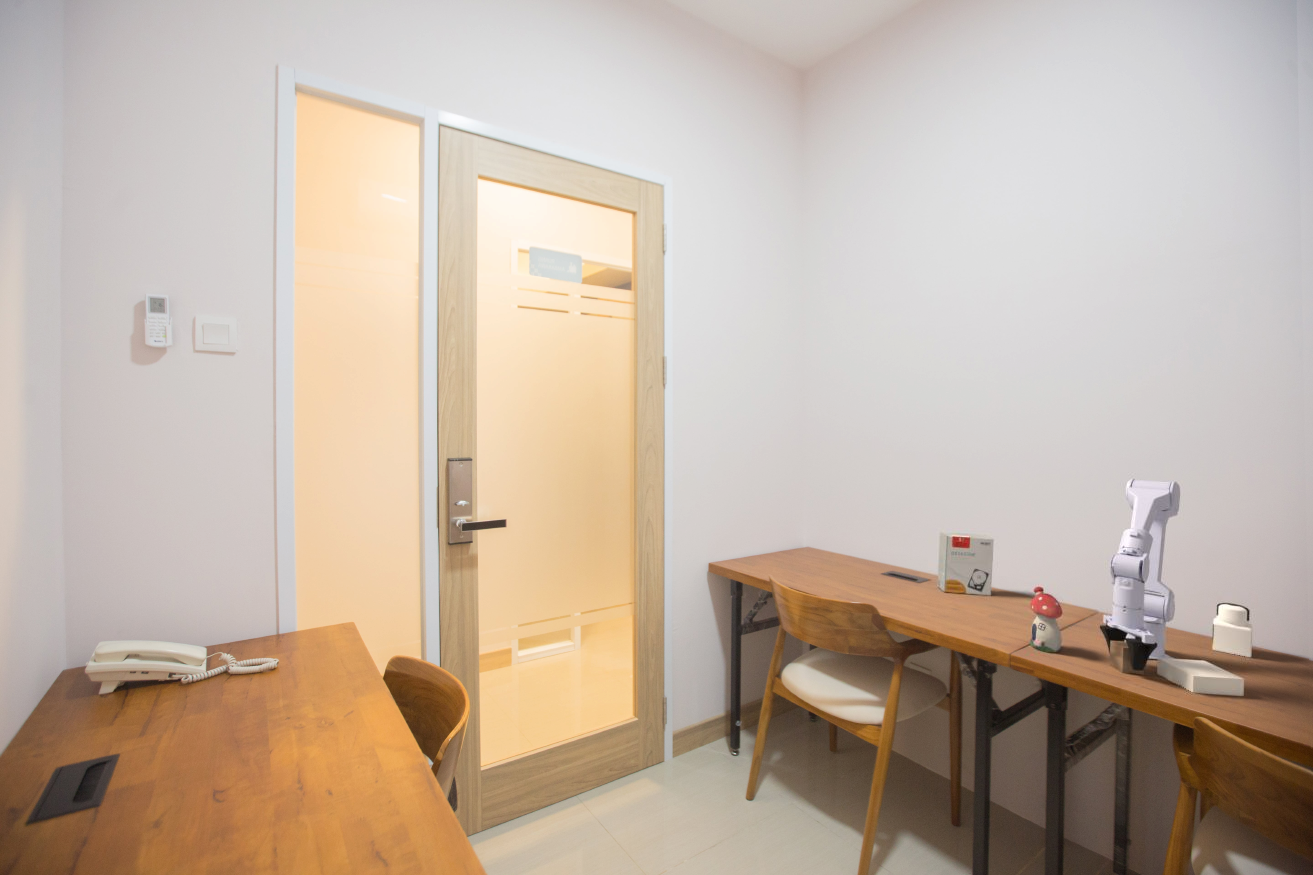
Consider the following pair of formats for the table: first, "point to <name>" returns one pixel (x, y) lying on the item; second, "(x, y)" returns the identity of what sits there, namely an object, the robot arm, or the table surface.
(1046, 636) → the decorative ornament
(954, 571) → the hard drive box
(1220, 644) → the medicine bottle
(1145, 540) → the robot arm
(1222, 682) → the ceramic base
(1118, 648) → the walnut block
